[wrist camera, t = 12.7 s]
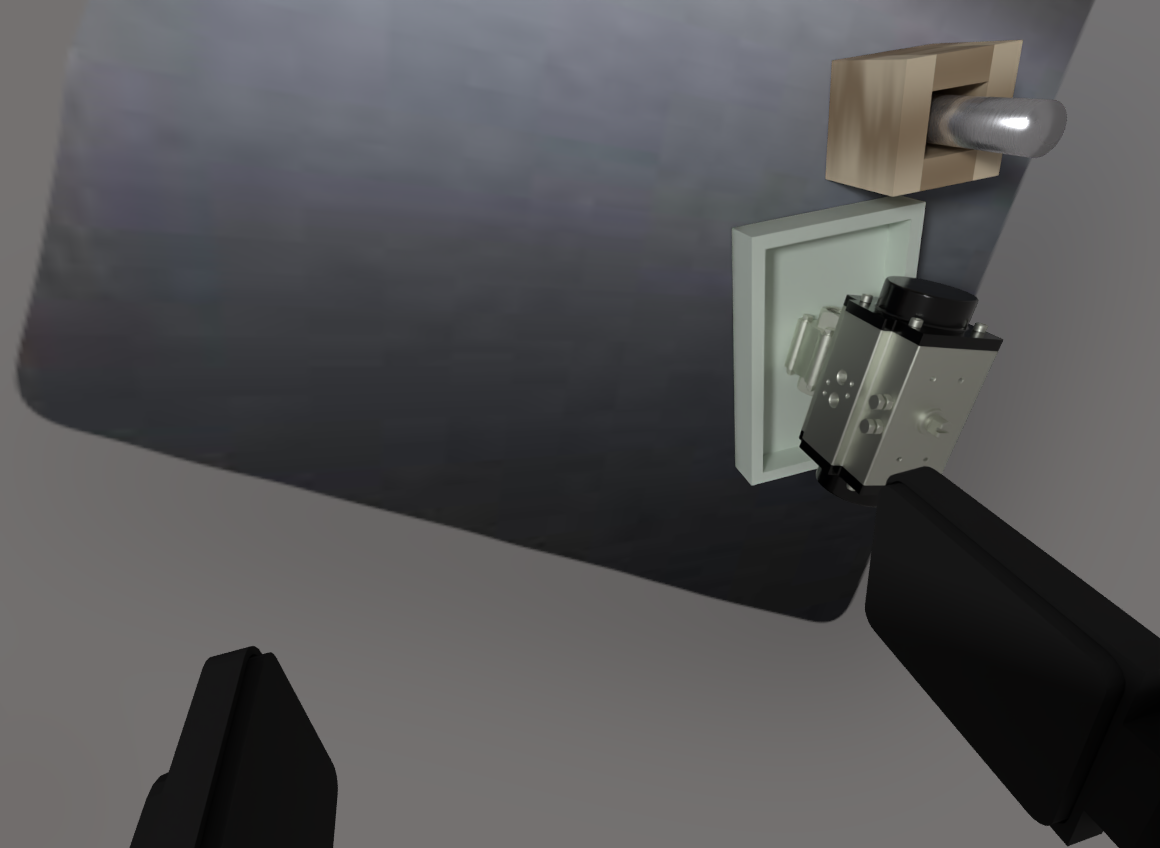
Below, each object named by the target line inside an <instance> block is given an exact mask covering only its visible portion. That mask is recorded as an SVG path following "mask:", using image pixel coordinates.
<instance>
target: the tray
mask: <svg viewBox="0 0 1160 848" xmlns="http://www.w3.org/2000/svg"><path fill="white" fill-rule="evenodd" d="M925 205H926V202H924V201H920V200H916V199H912V198H908V197H905V196H901V195H899V196H894V197H892V196H888V197H883V198H878V199H873V200H868V201H863V202H858V203H853V204H848V205H843V206H838V207H833V208H828V209H823V210H818V211H813V212H808V213H803V214H798V215H793V216H788V217H783V218H778V219H773V220H768V221H763V222H758V223H754V224H749V225H744V226H739V227H734V228H732V273H733V342H734V411H735V466H736V468H737V469H738V470H739V471H740V472H741V473H742V475H743V476H744V477H745V478H746V479H747V481H748V482H749V483H750V484H751V485H756V484H759V483H763V482H767V481H771V480H775V479H779V478H782V477H786V476H790V475H794V474H798V473H801V472H805V471H809V470H813V469H817V468H818V465H817V464H816V463H815V462H814V461H813V460H812V459H811V458H810V457H809V456H808V455H807V454H806V453H805V452H804V451H803V450H802V449H801V448H799V446H800V443H801V440H800V439H799V435H800V432H801V429H802V426H803V423H804V420H805V418H806V415H807V412H808V409H809V406H810V403H811V400H812V397H813V396H810V395H807V394H805V393H803V392H801V391H800V390H798V388H797V383H798V379H799V375H797V374H796V373H795V374H793V375H788V374H787V372H786V369H787V368H786V367H785V366H784V364H785V361H786V358H787V354H788V351H789V348H790V345H791V341H792V338H793V335H794V332H795V328H796V325H797V322H798V319H799V318H802V317H803V314H809V315H812V316H813V319H812V320H818V317H819V314H820V310H821V308H822V307H824V306H834V307H840V308H842V307H843V304H844V301H845V298H846V295H847V294H849V295H860V296H862V294H869V295H872V296H873V297H879V295H880V292H881V289H882V287H883V284H884V281H885V279H886V278H887V277H889V276H904V277H912V278H916V274H917V267H918V259H919V251H920V244H921V236H922V228H923V220H924V213H925Z"/></svg>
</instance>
